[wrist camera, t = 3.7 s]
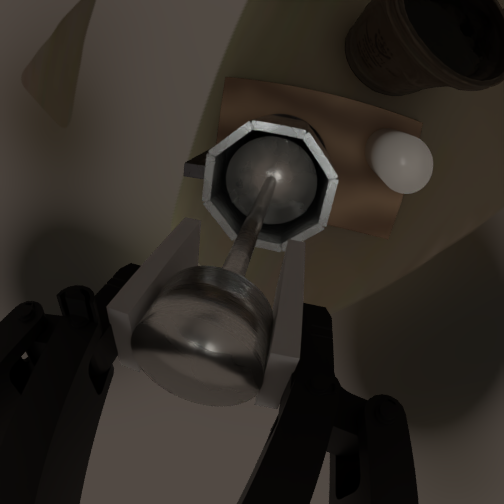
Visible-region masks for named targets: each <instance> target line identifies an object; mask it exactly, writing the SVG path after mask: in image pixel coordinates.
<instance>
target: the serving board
mask: <svg viewBox="0 0 504 504" xmlns="http://www.w3.org/2000/svg"><path fill="white" fill-rule="evenodd" d="M272 114H288V115H292V116H296V117H298V118H301V119H302V120H304V121H306V122H307V123H309V124H310V125H311V126H312V127H313V128H314V129H315V130H316V131H317V132H318V133H319V135H320V137H321V138H322V140H323V142H324V145H325V147H326V151H327V153H328V155H329V157H330V159H331V162H332V164H333V166H334V168H335V171H336V173H337V175H338V179H339V181H338V185H337V189H336V192H335V196H334V200H333V204H332V208H331V211H330V215H329V219H328V222H327V225H331V226H335V227H339V228H344V229H348V230H352V231H356V232H360V233H364V234H368V235H372V236H376V237H380V238H384V239H389V236H390V233H391V230H392V228H393V225H394V222H395V219H396V216H397V213H398V210H399V207H400V204H401V201H402V198H403V195H404V194H402V193H398V192H395V191H394V190H392V189H390V188H389V187H388V186H387V185H386V184H385V183H384V182H383V181H382V179H381V178H380V177H379V176H378V175H377V174H376V173H375V172H374V171H373V170H372V169H371V168H370V166H369V165H368V163H367V160H366V157H365V146H366V143H367V140H368V139H369V137H370V136H371V135H372V134H373V133H374V132H375V131H377V130H379V129H383V128H391V129H395V130H398V131H401V132H404V133H407V134H409V135H412V136H415V137H417V138H420V134H421V130H422V126H423V123H421V122H419V121H416V120H414V119H411V118H408V117H405V116H403V115H400V114H397V113H394V112H391V111H388V110H385V109H382V108H379V107H376V106H372V105H369V104H366V103H362V102H359V101H355V100H352V99H348V98H344V97H340V96H336V95H332V94H328V93H324V92H319V91H315V90H310V89H305V88H300V87H295V86H290V85H284V84H278V83H272V82H265V81H258V80H250V79H242V78H232V77H225V84H224V90H223V97H222V104H221V111H220V119H219V126H218V134H217V142H216V145H217V144H218V143H220V142H221V141H222V140H224V139H225V138H226V137H228V136H229V135H230V134H232V133H233V132H234V131H236V130H237V129H239V128H240V127H241V126H243V125H244V124H246V123H247V122H248V121H251V120H254V119H257V118H260V117H263V116H267V115H272Z"/></svg>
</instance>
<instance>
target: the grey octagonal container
mask: <svg viewBox="0 0 504 504" xmlns="http://www.w3.org/2000/svg"><path fill="white" fill-rule="evenodd" d="M262 136H280V137H284V138H287V139H289V140H292V141H293V142H295V143H297V144H298V145H300V146H301V147H302V148H303V149H304V150H305V151H306V152H307V153H308V155H309V156H310V158H311V159H312V161H313V164H314V166H315V170H316V175H317V189H316V193H315V197H314V199H313V201H312V203H311V204H310V206H309V207H308V208H307V210H306V211H305V212H304V213H302V214H301V215H300V216H299V217H297V218H295V219H293V220H291V221H288V222H285V223H281V224H266V223H263V224H262V227H261V230H260V233H259V236H258V239H257V242H256V245H255V247H259V248H264V249H268V250H273V251H278V252H281V249H282V251H283V252H284V251H286V247H287V242H288V239H292V240H296V241H301V242H302V241H304V240H306V239H307V238H309V237H311V236H313V235H315V234H316V233H318V232H320V231H322V230H324V226H325V227H326V226H327V222H328V219H329V215H330V211H331V208H332V204H333V200H334V196H335V192H336V189H337V185H338V181H339V179H338V175H337V173H336V171H335V168H334V166H333V164H332V162H331V159H330V157H329V155H328V153H327V151H326V147H325V145H324V142H323V140H322V138H321V137H320V135H319V133H318V132H317V131H316V130H315V129H314V128H313V127H312V126H311V125H310V124H309V123H307V122H306V121H304V120H302V119H301V118H298V117H296V116H292V115H288V114H272V115H267V116H263V117H260V118H257V119H254V120H251V121H248V122H247V123H246V124H244V125H243V126H241V127H240V128H239V129H237V130H236V131H234V132H233V133H232V134H230V135H229V136H228V137H226V138H225V139H224V140H222V141H221V142H220V143H218V144H217V145H216V146H214V147H213V148H211V149H209V150H207V151H205V152H204V153H202V154H200V155H198V156H196V157H194V158H192V159H191V160H189V161H187V162H185V164H184V176H187V177H193V178H199V179H204V185H203V196H202V201H205V202H204V203H203V205H204V206H205V207H206V208H207V210H208V211H209V212H210V213H211V215H212V216H213V217H214V219H215V220H216V221H217V222H218V224H219V225H220V226H221V227H222V229H223V230H224V231H225V233H226V234H227V235H228V236H229V238H230V239H231V240H234V239H235V240H236V238H237V236H238V234H239V232H240V230H241V228H242V226H243V224H244V222H245V220H246V218H247V216H246V215H245V214H243V213H242V212H241V211H240V210H239V209H238V208H237V207H236V206H235V204H234V203H233V201H232V200H231V198H230V196H229V193H228V190H227V185H226V173H227V168H228V165H229V162H230V160H231V158H232V157H233V155H234V154H235V153H236V151H237V150H238V149H239V148H241V147H242V146H243V145H244V144H246V143H247V142H249V141H251V140H253V139H255V138H258V137H262ZM234 242H235V241H234Z"/></svg>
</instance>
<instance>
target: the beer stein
mask: <svg viewBox="0 0 504 504" xmlns="http://www.w3.org/2000/svg"><path fill="white" fill-rule="evenodd" d="M345 51H346V57H347V60H348V62H349V65H350V68H351V69H352V71H353V72H354V73H355V75H356V76H357V77H358V78H359V79H360V80H361V81H362V82H363V83H364V84H365V85H367V86H368V87H370V88H371V89H373V90H374V91H377V92H379V93H382V94H386V95H391V96H402V95H405V94H411V93H414V92H417V91H420V90H422V89H427V88H433V87H444V86H449V87H453V88H456V89H458V90H466V91H478V90H483V89H486V88H489V87H492V86H495V85H497V84H499V83H501V82H502V81H503V80H504V9H502V7H501V6H500V4H499V2H498V1H497V0H372V1H371V2H370V3H369V4H368V5H367V6H366V8H365V10H364V11H363V13H362V14H361V15H360V17H359V18H358V19H357V21H356V22H355V24H354V25H353V27H352V28H351V29H350V31H349V33H348V35H347V38H346V44H345Z"/></svg>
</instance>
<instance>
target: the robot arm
mask: <svg viewBox="0 0 504 504" xmlns="http://www.w3.org/2000/svg"><path fill="white" fill-rule="evenodd" d="M200 227H201V220H196V219H191V218H186V217H185V218H184V219H183V221H182V222H181V223H180V224H179V225H178V226H177V227H176V228H175V229H174V230H173V231H172V232H171V233H170V234H169V235H168V237H167V238H166V239H165V240H164V241H163V242H162V243H161V244H160V245H159V247H157V249H156V250H155V251H154V252H153V253H152V254H151V255H150V256H149V258H148V259H147V260H146V261H145V262H144V263H143V264H142V265H141V266H140V265H136V264H132V263H130V264H128V265H126V266H124V267H122V268H120V269H119V270H118V272H116V273H115V275H114V276H113V278H111V279H110V280H109V281H108V282H107V284H106V285H104V287H103V288H102V289H101V290H100V291H99V292H98V293H97V294H96V295H95V296H94V293H93V291H92V290H91V289H90V288H88V287H85V286H77V285H75V286H70V287H67V288H65V289H63V290H61V291H60V292H59V293H58V294H57V299H58V302H59V305H60V308H61V311H62V315H63V316H59V315H50V314H45V313H44V310H43V308H42V306H41V305H40V304H39V303H38V302H34V301H27V302H24V303H21V304H19V305H18V306H17V307H15V309H13V310H12V311H11V312H10V313H9V314H8V315H7V316H6V317H5V318H4V319H3V320H2V321H1V322H0V504H80V498H81V494H82V489H83V484H84V479H85V475H86V470H87V466H88V461H89V457H90V453H91V449H92V445H93V441H94V438H95V434H96V430H97V426H98V423H99V419H100V416H101V412H102V409H103V405H104V402H105V399H106V396H107V393H108V389H109V386H110V383H111V380H112V377H113V373H114V367H113V364H112V363H113V362H114V360H115V358H116V357H117V355H118V357H119V361H120V364H121V365H122V366H125V367H127V368H130V369H133V370H135V371H138V372H140V370H141V368H140V366H139V365H138V363H137V362H136V360H135V358H134V356H133V353H132V349H131V337H132V333H133V332H134V330H135V328H136V327H137V325H138V324H139V322H140V321H141V319H142V318H143V316H144V315H145V313H146V312H147V310H148V309H149V307H150V306H151V304H152V303H153V301H154V300H155V298H156V297H157V295H158V294H159V293H160V291H161V290H162V288H163V287H164V285H165V284H166V282H167V281H168V280H169V279H170V278H171V277H172V276H173V275H174V274H176V273H177V272H179V271H181V270H183V269H186V268H189V267H194V266H198V256H199V241H200ZM304 269H305V242H301V241H296V240H292V239H288V242H287V247H286V251H285V255H284V259H283V264H282V268H281V272H280V276H279V280H278V284H277V288H276V294H275V300H274V305H273V311H272V312H273V317H274V322H273V328H272V333H271V339H270V345H269V350H268V356H267V361H266V367H265V372H264V380H263V385H262V388H261V390H260V391H259V393H258V394H257V395H256V399H255V405H259V406H264V407H269V408H274V409H278V407H279V404H280V408H279V414H278V416H277V418H276V420H275V422H274V424H273V427H272V428H271V432H270V434H269V437H268V439H267V442H266V444H265V446H264V448H263V450H262V453H261V455H260V457H259V459H258V461H257V464H256V466H255V468H254V470H253V472H252V474H251V476H250V479H249V481H248V483H247V485H246V487H245V489H244V491H243V493H242V495H241V497H240V499H239V501H238V503H237V504H310V501H311V498H312V495H313V492H314V489H315V486H316V483H317V480H318V477H319V474H320V470H321V467H322V464H323V461H324V457H325V454H326V451H327V452H329V453H330V491H329V504H418V493H417V484H416V475H415V468H414V460H413V453H412V447H411V441H410V435H409V429H408V424H407V419H406V414H405V411H404V409H403V406H402V405H401V404H400V403H399V402H398V400H396V399H395V398H393V397H391V396H388V395H383V394H382V395H375V396H373V397H372V398H370V399H369V400H365V399H363V398H360V397H358V396H356V395H353V394H351V393H349V392H347V391H346V390H345V389H343V388H342V387H341V385H340V383H339V381H338V379H337V378H336V377H335V374H334V357H333V356H334V355H333V339H332V338H333V333H332V318H331V316H330V314H329V312H328V311H327V309H326V307H321V306H316V305H311V304H306V303H303V295H304ZM25 351H26V353H27V355H28V357H27V358H26V359H22V357H21V356H22V355H23V354H24V353H25Z"/></svg>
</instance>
